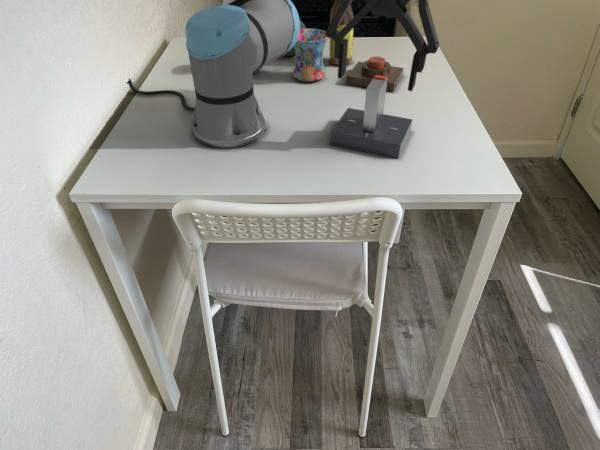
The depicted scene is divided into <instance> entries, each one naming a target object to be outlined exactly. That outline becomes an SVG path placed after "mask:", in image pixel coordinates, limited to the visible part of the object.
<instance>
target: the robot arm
mask: <svg viewBox="0 0 600 450" xmlns="http://www.w3.org/2000/svg"><path fill="white" fill-rule="evenodd" d="M353 1H354V0H343V1H342V3H341V5H340V6H339V8H338V10H337V12H336V14H335V16H334V18H333V20H332V21H331V23H330V22H329V25H328V27H327V29H326V30H325V32H326V33H325V35H326V37H328V39H330V38H332V39H333V40H334V41H335V51H334V57H335V59H339V64H338V65H337V66H338V67H337V79H342V78H343V77H344V76H345V75H346V73H347V65H346V63H347V50H348V39H344V37H345V36H346V35H347V34H348V33H349V32H350V31H351V30H352V29H353V28H354V29H355V27H356V26H357V25H358V24H359V23H360V22H361V21H362V20H363V18H365V16H366V15H367V14H369V12H370V13H371V14H372V15H373V17H384V18H388V19H392V18H396V19H397V21H398V23H400V25H401V27H402V28H403V30H404V32H405V33H406V35H407V36H408V38H409V40H410V41H411V43H412V45H413V46H414V49H415V50H416V51H415V52H414V54H413V56H412V57H413V58H412V64H411V68H410V75H409V78H408V79H409V80H408V86H407V91H408V92H412V91H413V90H414V88H415V85H416V80H417V75H418V73H420V74H421V73H423V70H424V68H425V66H426V65H425V64H426V59H427V55H429V54H437V52H438V49H439V48H440V42H439V38H438V35H437V31H436V27H435V23H434V20H433V15H432V12H431V8H430V6H429V5H430V4H429V3H430V2H429V1H430V0H412V1H413V2H414V3H413V4H414V6H416V7H418V8H417V9H418V15H419V17H420V21H421V26H422V28H423V31H424V36H425V38H424V36H423V35H422V33H421V31H420V30H419V28H418V26H417V24H416V22H415V21H414V19H413V17H412V16H411V13H410V9H409V8H408V6H407V5H408V4H409V2H410V1H411V0H363V1H364V3H365V5H364V6H363V7H362V8H361V9H360V10H359V11H358V12H357V13H356V14H355V15H354V18H353V19H352V20H351V21H350V22H349V23H348V24H347V25H346V26H345V27H344V28H343V29H342V30H341V31H338V30H337V28H338V26H339V24H340V23H341V21H342V19H343V17H344V15H345V14H346V12H347V10H348V8H349V6H350V5H351V6H352V3H353ZM300 21H301V19H300V15H299V13H298V10H297V8H296V6H295V4H294V3H293V1H292V0H223V1H222V4H219V5H216V6H214V7H211V6H209V7H205V8H203V9H201V10H199V11H197V12H195V13H194V14H192V15H191V16H190V17H189V18H188V20H187V22H186V24H185V28H184V29H185V37H186V40H185V41H186V42H185V46H186V50H187V54H188V59H189V65H190V71H191V77H192V81H193V89H194V93H195V104H194V107H192V106H188V105H187V103H186V97H185V96H184V95H183V93H181V92H179V91H178V90H172V89H171V90H168V89H164V90H150V91H148V90H147V91H144V90H139V89H137V88H136V87H135V86H134V83H133V81H132V79H130V78H128V79H129V81H128V82H127V83H126V84H128V86H129V88H130V90H131V91H132V92H133V93H134V94H137V95H140V96H156V95H174V96H177V97H179V98H180V101H181V106H182V108H183V109H184V110H186V111H188V112H193V115H192V121H191V128H192V135H193V137H194V139H195V141H197V142H199V143H201V144H202V145H203V146H207V147H210V148H217V149H233V148H239V147H244V146H246V145H249V144H252V143H254V142H256V141H258V140H259V139H260V138H261V137H262V136H263V135H264V133H265V132H266V131H265V130H266V122H265V117H264V114H263V112H262V110H261V103H260V101H258V100H257V97H256V95H255V91H254V89H255V88H254V78H253V77H254V75H253V74H252V73H253V72H254V71H255V70H257V69H259V68H261V67H262V68H263V67H265V66H267V65H268V64H270V63H272V62H274V61H275V60H279V59H280V58H283V57H284V56H286V55H285V54H286V53H287V52H288V51H290V50H291V49H292V48H293V47H294V46H295V44H296V42H297V39H298V36H299V33H300ZM425 39H426V40H425ZM262 68H261V69H262Z"/></svg>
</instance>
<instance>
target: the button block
mask: <svg viewBox="0 0 600 450" xmlns="http://www.w3.org/2000/svg"><path fill="white" fill-rule="evenodd" d="M368 63H369V59H368V60H365V61H357V62H356V64H355V65H354V66H353V68H351V70H350V71H349V73H348V74H347V75H346V81H345V82H346V83H345V85H349V86H354V87H355V86H356V87H361V88H366V89H367V87H368V85H369V84H370V82H371V81H372V80H373V78H374V77H375V75H380V76H386V77H387V78H388V79H387V87H386V92H391V93H394V92H395V90H396V88H397V87H398V85H399V83H400V81H401V79H402V78H403V76H404V67H399V66H393V65H391V63H390V62H389V61H386V60H385V66H384V68H379V69H375V68H371V67H368Z"/></svg>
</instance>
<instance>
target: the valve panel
mask: <svg viewBox="0 0 600 450" xmlns="http://www.w3.org/2000/svg"><path fill="white" fill-rule="evenodd" d="M363 121H364V110H363V109H357V108H352V107H347V109H346V110H345V111H344V113H343V114H342V115H341V117H340V119H339V120H338V121H337V122H336V124H335V125H334V128H332V129H331V131H330V146H335V147H341V148H346V149H351V150H354V151H355V150H356V151H360V152H365V153H370V154H375V155H380V156H384V157H388V158H395V159H399V158H400V156H401V154H402V152H403V149H404V147H405V145H406V143H407V141H408V138H409V137H410V133H411V131H412V126H413V119H412V118H408V117H407V118H406V117H401V116H396V115H391V114H384V113H383V119H382V121H381V123H380V125H379V126H378V128H377V130H376V131H375V133H372V132H367V131H363Z"/></svg>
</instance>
